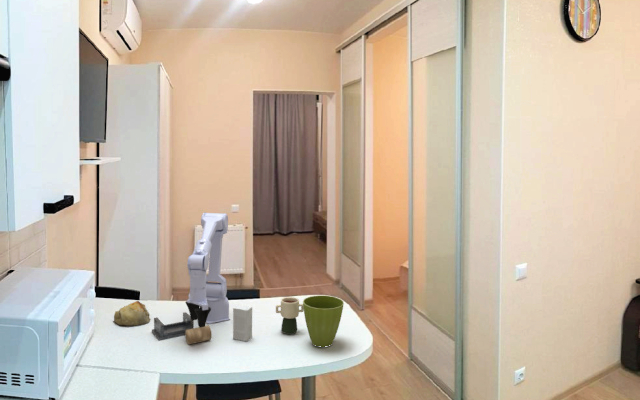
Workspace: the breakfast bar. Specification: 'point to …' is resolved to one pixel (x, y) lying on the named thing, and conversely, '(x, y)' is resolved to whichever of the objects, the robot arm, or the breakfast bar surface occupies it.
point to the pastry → (132, 315)
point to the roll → (198, 334)
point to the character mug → (289, 314)
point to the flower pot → (322, 318)
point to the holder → (172, 328)
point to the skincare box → (242, 322)
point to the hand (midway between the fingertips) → (198, 323)
